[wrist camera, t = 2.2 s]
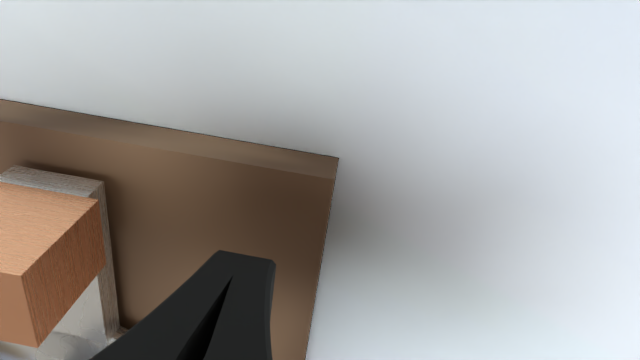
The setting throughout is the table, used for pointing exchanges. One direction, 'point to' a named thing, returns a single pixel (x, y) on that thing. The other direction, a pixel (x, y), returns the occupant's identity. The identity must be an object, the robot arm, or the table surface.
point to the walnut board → (188, 206)
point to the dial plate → (91, 303)
